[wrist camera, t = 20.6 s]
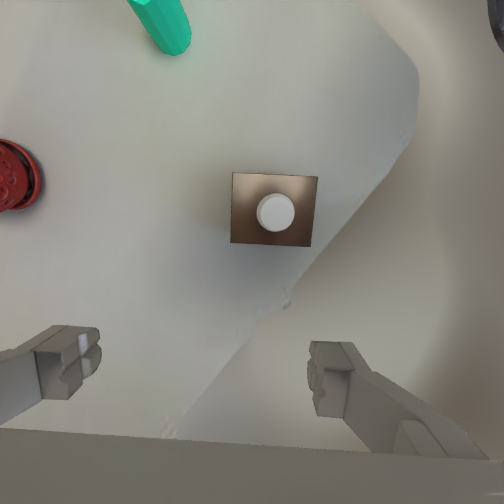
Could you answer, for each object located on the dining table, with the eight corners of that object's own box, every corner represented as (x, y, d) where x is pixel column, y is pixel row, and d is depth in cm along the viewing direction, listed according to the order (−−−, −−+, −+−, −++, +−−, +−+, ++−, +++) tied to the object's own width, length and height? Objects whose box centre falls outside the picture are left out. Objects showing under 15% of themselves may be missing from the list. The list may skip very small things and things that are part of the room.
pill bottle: (295, 209, 35) (306, 213, 27) (272, 232, 36) (277, 242, 28) (272, 187, 35) (277, 183, 27) (250, 210, 36) (248, 214, 27)
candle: (147, 42, 37) (95, -29, 26) (162, 1, 36) (116, -93, 24) (181, 63, 38) (146, 3, 26) (198, 24, 37) (169, -58, 25)
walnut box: (308, 180, 41) (318, 176, 34) (302, 239, 43) (310, 247, 37) (236, 176, 41) (232, 172, 34) (234, 235, 44) (230, 242, 37)
